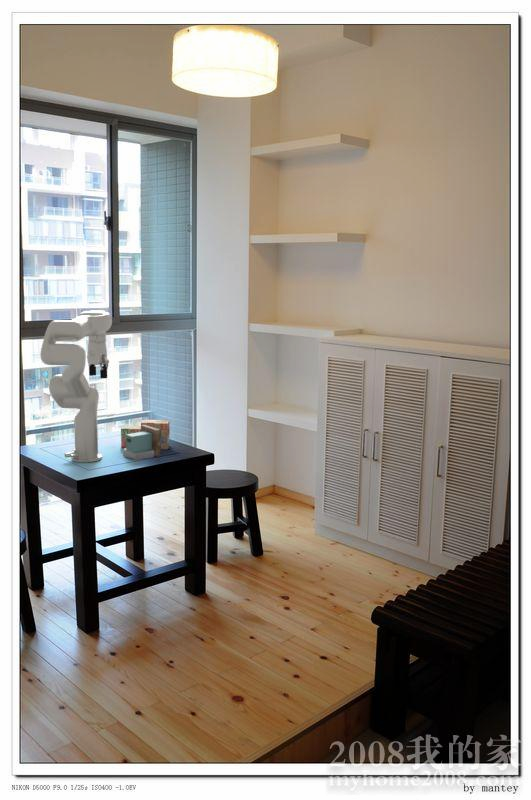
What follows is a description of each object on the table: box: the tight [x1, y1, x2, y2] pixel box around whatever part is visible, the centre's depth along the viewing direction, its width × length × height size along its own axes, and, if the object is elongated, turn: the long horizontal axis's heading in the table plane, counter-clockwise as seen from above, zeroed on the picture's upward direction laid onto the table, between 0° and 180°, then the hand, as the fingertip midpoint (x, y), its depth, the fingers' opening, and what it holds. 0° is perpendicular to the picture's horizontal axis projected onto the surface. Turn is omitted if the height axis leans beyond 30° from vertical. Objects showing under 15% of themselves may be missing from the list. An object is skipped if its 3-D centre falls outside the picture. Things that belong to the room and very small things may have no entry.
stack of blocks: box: [120, 419, 170, 450], centre depth 341 cm, size 21×6×12 cm, turn 88°
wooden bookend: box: [122, 424, 161, 461], centre depth 327 cm, size 12×12×12 cm
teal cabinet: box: [125, 431, 152, 453], centre depth 326 cm, size 11×5×7 cm, turn 132°
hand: (98, 376), depth 336 cm, fingers open, 9 cm apart
